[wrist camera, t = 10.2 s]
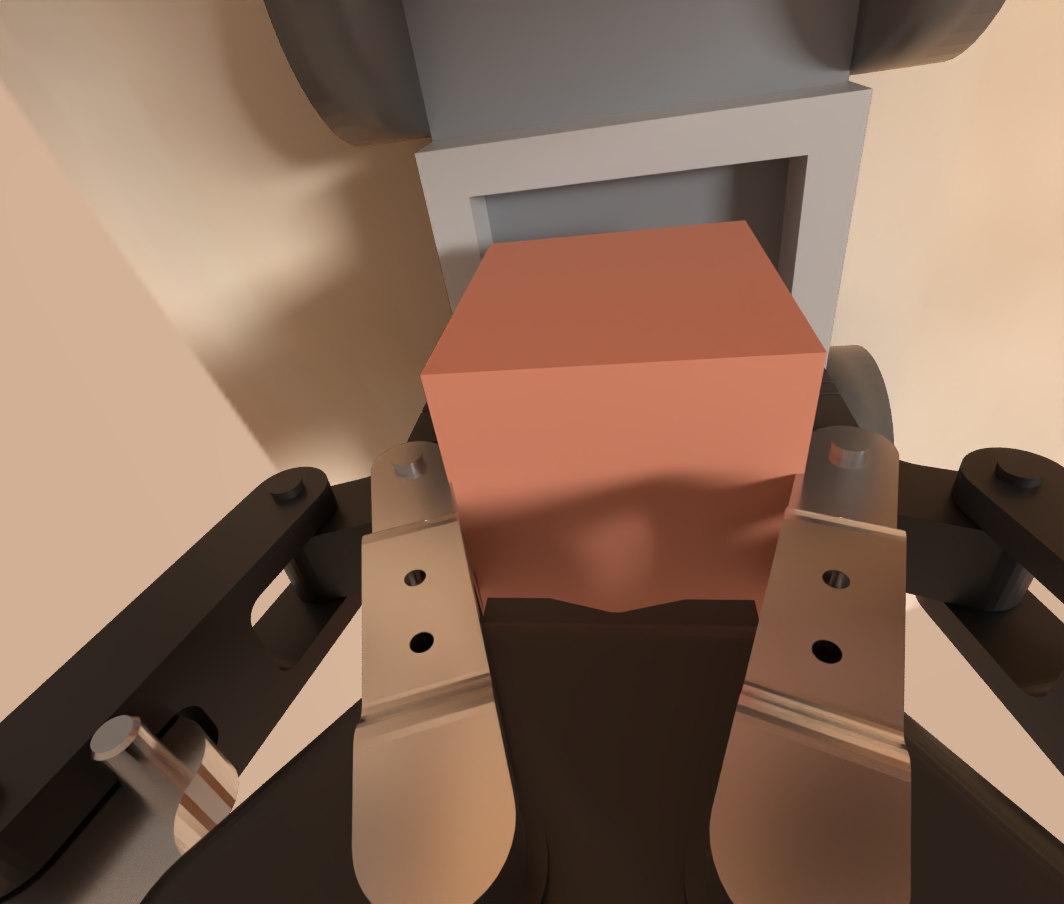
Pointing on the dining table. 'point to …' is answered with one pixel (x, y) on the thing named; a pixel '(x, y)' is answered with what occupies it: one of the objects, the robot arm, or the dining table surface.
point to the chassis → (629, 121)
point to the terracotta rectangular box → (625, 415)
